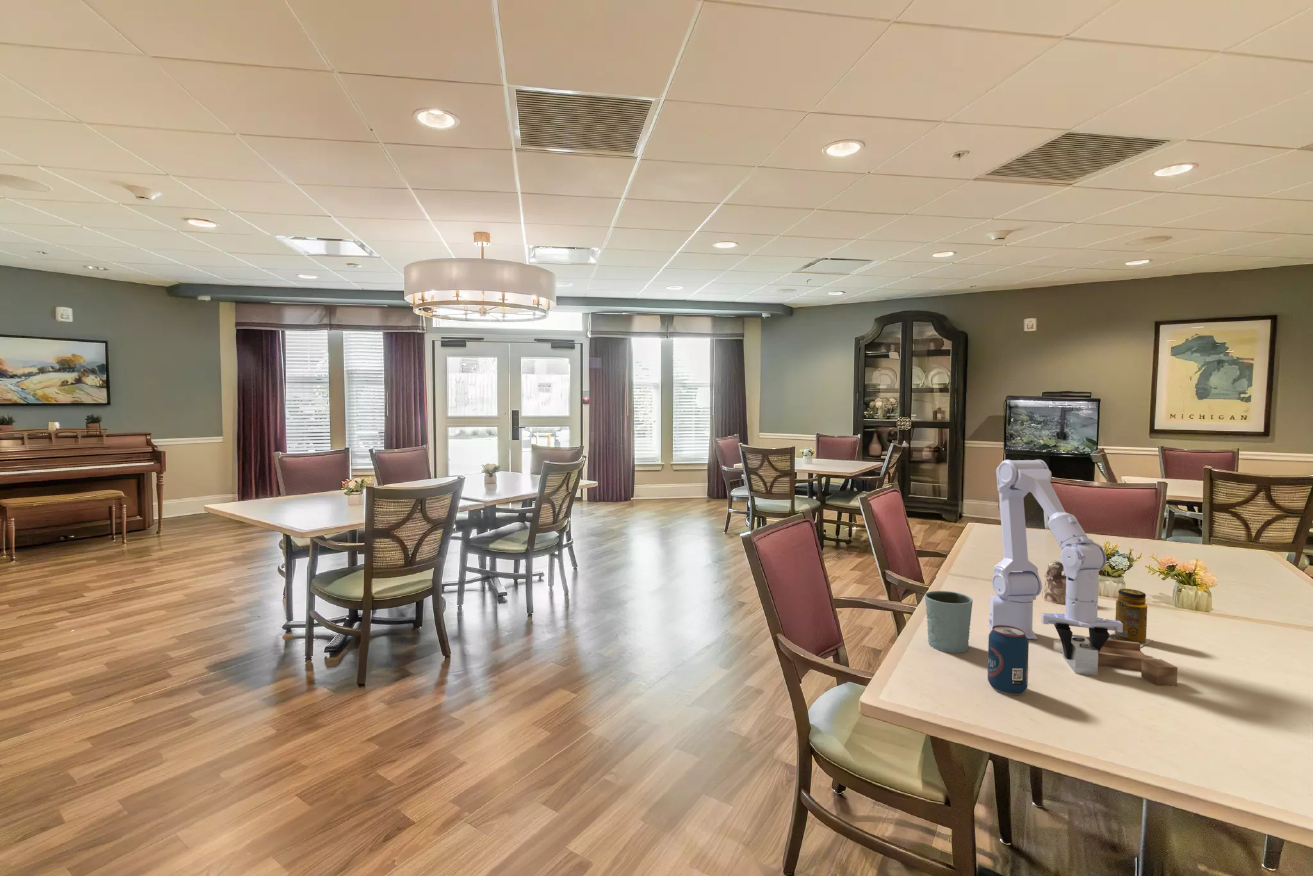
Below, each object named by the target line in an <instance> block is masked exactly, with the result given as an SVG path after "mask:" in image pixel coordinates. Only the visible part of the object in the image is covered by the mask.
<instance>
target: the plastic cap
mask: <svg viewBox="0 0 1313 876" xmlns="http://www.w3.org/2000/svg"><path fill="white" fill-rule="evenodd" d="M1052 647H1053V648H1052V649H1053V650H1054V651H1055V652H1057V653H1061V654H1063V646H1062V642H1061V639H1054V640H1053V646H1052Z"/></svg>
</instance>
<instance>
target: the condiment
mask: <svg viewBox="0 0 1313 876" xmlns="http://www.w3.org/2000/svg"><path fill="white" fill-rule="evenodd" d="M1146 597H1147V595H1146V593H1145V592H1143V591H1141V590H1139V589H1138V590H1136V589H1133V588H1132V589H1131V588H1120V589H1118V596H1117V599H1116V601H1115V619H1114V620H1116V621H1120V622H1121V623H1122V624H1123V632H1116V631H1114V632H1113V633H1111V634H1110V633H1109V638H1108V639H1112V640H1121V641H1130V642H1139V643H1140V648H1142V647H1144V646H1145V645H1148V644H1149V643H1151V642H1153V639H1150V638H1147V627H1148V626H1147V624H1148V622H1147V621H1148V618H1147V617H1148V605H1147V603H1146V601H1147V599H1146Z"/></svg>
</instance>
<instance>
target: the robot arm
mask: <svg viewBox="0 0 1313 876" xmlns="http://www.w3.org/2000/svg"><path fill="white" fill-rule="evenodd" d="M995 472H996V485H997V492H998V497H999V500H998V501H999V512H1000V514H999V515H1000V524H1001V525H1000V526H1001V542H1002V553H1003V558H1002V560H1000V561H999V562H998V563H996V564H995V565H994V566H993V575H992V577H991V578H992V579H991V586H992V589H993V591H994V593H995V594H996V595H990V596H989V604H988V605H989V606H988V626H989V628H990V631H992V627H993V626H996V625H1006V626H1012V627H1016V628H1019V629H1021V630H1023V631H1024V632H1025V636H1026V638H1027V639H1029V640H1038V637H1037V635H1036V634H1035V633H1034V631H1033V619H1034V618H1033V617H1034V601H1037V597H1038V596H1039V595H1041V592H1042V591H1043V590H1042V589H1043V583H1042V580H1041V577H1040V575H1039V569H1038V567H1037V565H1035V564H1033V563H1032V562H1031V561H1030V560H1029V556H1028V555H1029V553H1028V540H1027V530H1026V529H1027V528H1026V514H1025V512H1026V511H1025V501H1024V498H1025V497H1026V496H1027V495H1028V493H1031V494H1032V496H1033V497H1034V499H1035V500H1036V501H1037V503H1038V504H1039V505H1040V507H1041V508H1042V509H1043V511H1044V513H1045V514H1046V516H1047V518H1049V519H1048V521H1047V527H1048V529H1049V531H1050V532H1051V534H1052V535H1053V538H1054V540H1055V541H1056V543H1057V544H1058V547H1060V550H1061V553H1059V559H1060V563H1062V564H1063V567H1064V571H1063V574H1064V573H1065V576H1066V604H1065V609H1064V610H1065V612H1064V613H1060V612H1059V613H1057V612H1056V613H1051V612H1050V613H1049V612H1041V615H1040V616H1041V617H1040V619H1041V620H1040V621H1041V623H1042V624H1043V625H1050V624H1051V625H1053V627H1054V628H1055V630H1056V632H1057V634H1058V636H1059V640H1061V642H1062V646H1063V650H1064V656H1065V658H1066V659H1068V660H1071V639H1072V634H1073V635H1074V633H1073V631H1072V629H1071V627H1077V628H1086V629H1088V637H1089V638H1090V642H1091V643H1092V644H1093V645H1094V646H1095V647H1096V649H1097V650H1098V654H1099V652H1100V650H1101V648H1102V646H1103V645H1104V643H1105V642H1106V641H1107V640H1108V638H1109V635H1110V633H1109V632H1108V631H1113V632H1115V631H1116V632H1123V624H1122V623H1121V622H1120V621H1116V620H1115V619H1108V618H1105V617H1098V611H1099V610H1098V604H1099V576H1100V575H1099V574H1100V570H1102V569H1103V568H1104V567H1105V566H1106V564H1107V555H1106V552H1105V550H1104V548H1103V546H1102V545H1100V544H1099V543H1096V542H1095V541H1093V539H1091V538H1089V537H1088V536H1087V534H1086V531H1085V530H1084V529H1083V527H1082V526H1081V524H1080V523H1079V521H1078V519H1077V517H1076V516H1075V515H1074V514H1071V513H1068V512H1066V510H1065V509H1064V507H1063V505H1062V502H1061V500H1060V499H1059V497H1058V495H1057V493H1056V490H1055V489H1054V487H1053V484H1052V483H1051V479H1052V471H1051V470H1050V469H1049V466H1048V464H1047V463H1046V462H1045V461H1044V460H1042V459H1034V460H1033V459H1032V460H1031V459H1024V460H1020V459H1017V460H1013V459H1012V460H1011V459H1005V460H1002V461H1001V462H1000V464H999V465H998V466H997V468H996V469H995Z"/></svg>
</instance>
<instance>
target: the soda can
mask: <svg viewBox="0 0 1313 876" xmlns="http://www.w3.org/2000/svg"><path fill="white" fill-rule="evenodd" d="M987 647H988V650H987V682H988V683H989V685H990V686H991V688H992V689H994V690H995V691H997V692H998V693H1002V694H1003V695H1004V694H1005V695H1009V696H1020V695H1021V696H1022V695H1023V693H1024V692H1026V690H1027V688H1028V683H1029V681H1028V679H1029V675H1028V674H1029V640H1028V639H1027V638H1026V636H1025V632H1024V631H1023V630H1021V629H1019V628H1016V627H1012V626H1006V625H996V626H993V627H992V630H990V632H989V634H988V646H987Z"/></svg>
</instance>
